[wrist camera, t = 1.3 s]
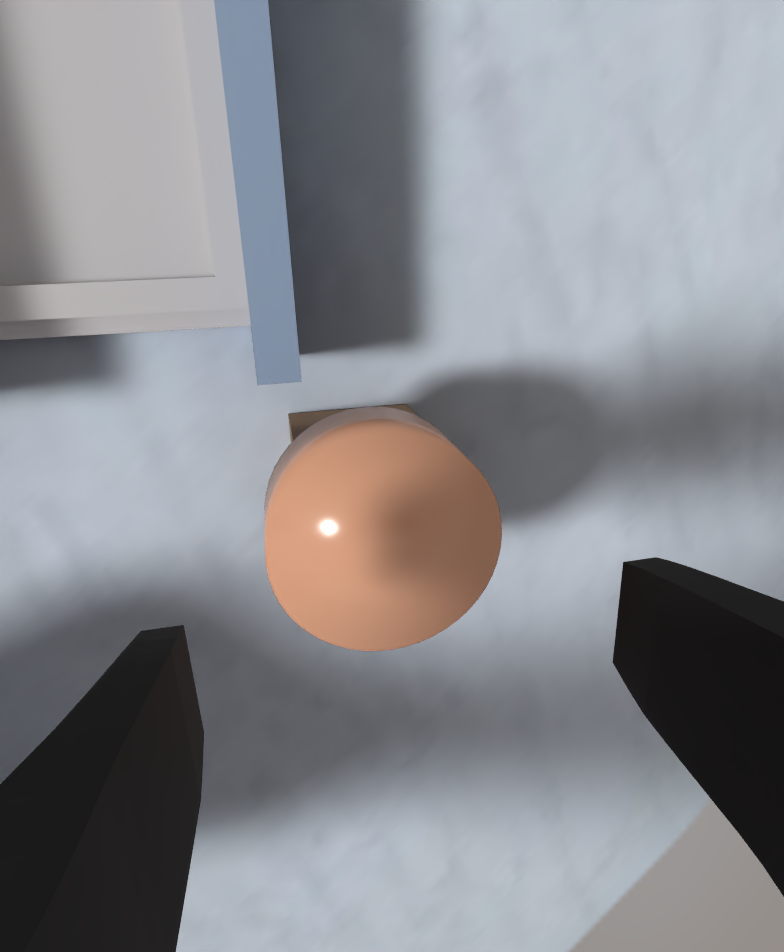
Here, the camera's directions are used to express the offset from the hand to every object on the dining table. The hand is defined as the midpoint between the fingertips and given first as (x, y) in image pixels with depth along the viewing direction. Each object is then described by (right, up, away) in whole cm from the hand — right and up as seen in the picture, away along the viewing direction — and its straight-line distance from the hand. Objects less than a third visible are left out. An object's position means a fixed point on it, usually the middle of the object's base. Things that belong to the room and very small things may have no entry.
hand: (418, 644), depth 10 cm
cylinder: (-1, +2, +6) cm, 6 cm away
